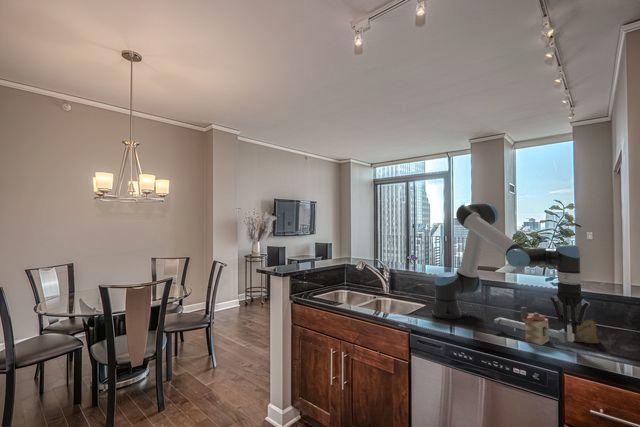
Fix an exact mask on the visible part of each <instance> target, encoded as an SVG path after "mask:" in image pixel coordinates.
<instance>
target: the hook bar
mask: <svg viewBox="0 0 640 427" xmlns="http://www.w3.org/2000/svg"><path fill="white" fill-rule="evenodd" d="M493 323H494V324H499V325H503V326H507V327H512V328H515V329H519V330H522V331H525V322H523V321H522V322H521V321H517V320H512V319H509V318H504V317H501V316H499V317H497V318H494V319H493ZM548 328H549V327H548ZM548 328H544V327H543V335H547V336H549V337H551V338H555V339H558V342H559V343H562V344H563V343H564V344H565V343H566V342H569V341H568V338H567V332H565V331H564V328H561V329H560V330H556V329H553V328H549V329H548Z"/></svg>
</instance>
